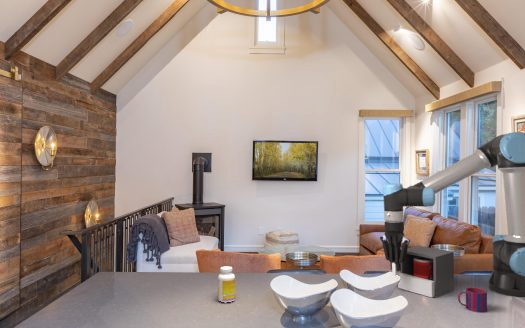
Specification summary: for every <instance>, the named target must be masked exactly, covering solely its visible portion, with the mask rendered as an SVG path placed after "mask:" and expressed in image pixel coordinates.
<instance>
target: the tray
mask: <svg viewBox="0 0 525 328" xmlns="http://www.w3.org/2000/svg"><path fill="white" fill-rule="evenodd" d="M399 276H400V277H401V280H400V282H399V283H398V282H397V285H398V286H397V288H398V289H401V290H404V291H407V292H412V293H416V294H418V295H422V296H425V297H429V298H436V297H435V284H434V281H431V280H427V279H423V278H419V277H416V276H412V275H408V274H404V273H400V272H399Z"/></svg>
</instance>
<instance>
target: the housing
mask: <svg viewBox="0 0 525 328" xmlns="http://www.w3.org/2000/svg"><path fill="white" fill-rule="evenodd" d="M419 256H421V257H426V258H431V259H433V276H434V284H435V297H434V298H438V297H441V296H443V295H446V294H448V293H449V294H450V292H451V293H452V292H453V291H455V270H454V269H455V268H454V267H455V266H454V265H455V260H454V259H455V257H454V256H455V253H454V251H449V250H445V249H439V248H434V247H429V246H423V245H416V246H411V247H408V248H407V254H406V259H405V262H402V263H401V271H399V273H404V274H408V275H412V276H414V257H419Z"/></svg>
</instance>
